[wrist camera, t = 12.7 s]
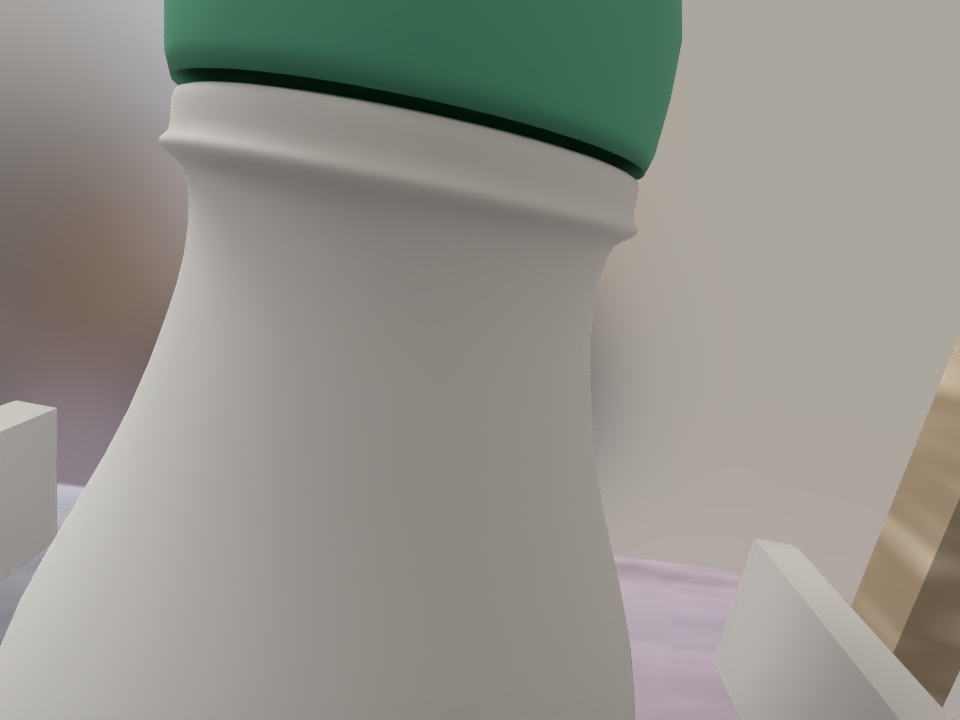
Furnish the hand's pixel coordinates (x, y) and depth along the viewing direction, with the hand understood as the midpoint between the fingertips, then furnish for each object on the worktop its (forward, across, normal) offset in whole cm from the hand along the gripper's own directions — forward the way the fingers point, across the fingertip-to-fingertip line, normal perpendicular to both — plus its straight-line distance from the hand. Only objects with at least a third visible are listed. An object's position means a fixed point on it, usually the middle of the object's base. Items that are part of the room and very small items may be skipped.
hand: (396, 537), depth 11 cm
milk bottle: (-3, 0, -12) cm, 12 cm away
